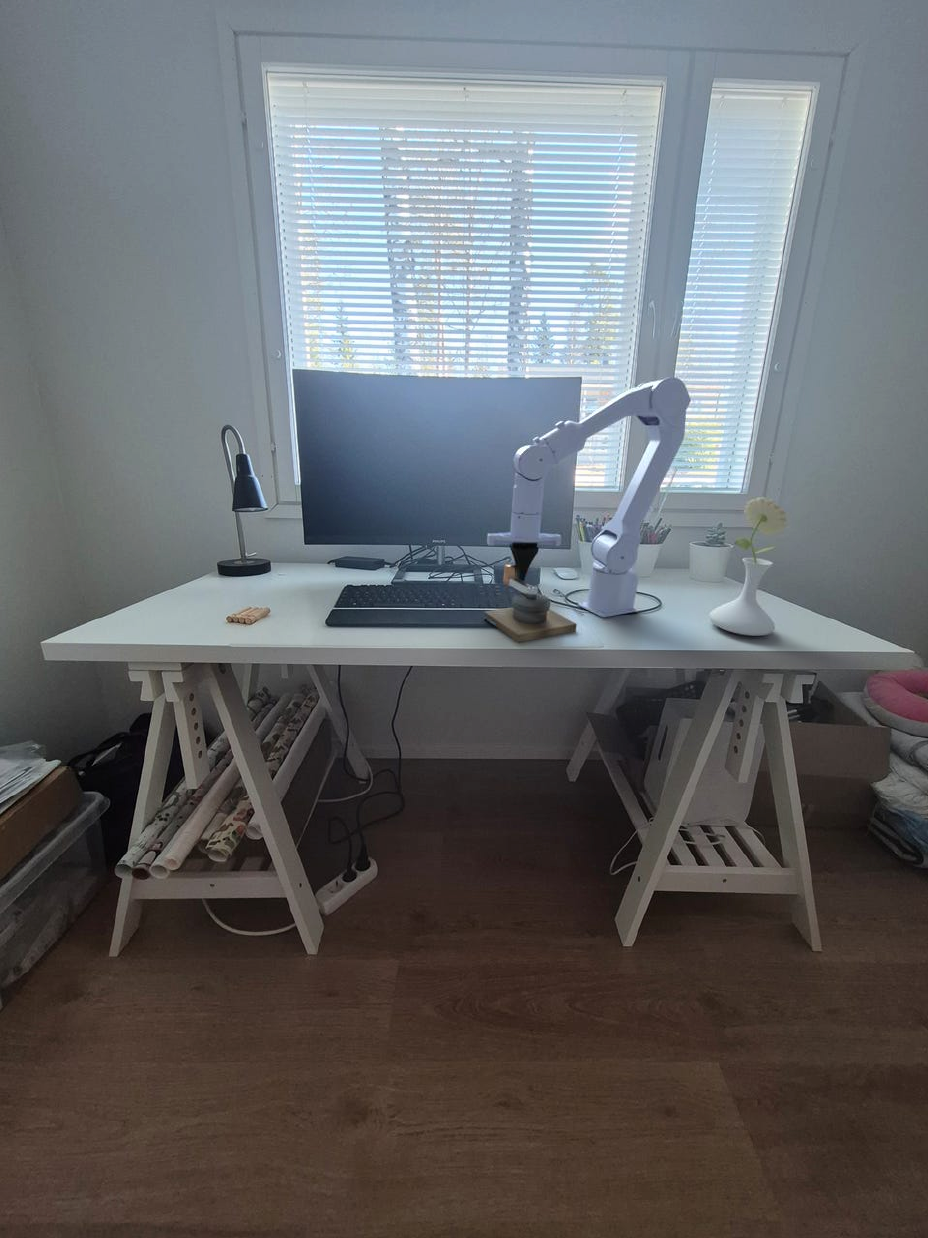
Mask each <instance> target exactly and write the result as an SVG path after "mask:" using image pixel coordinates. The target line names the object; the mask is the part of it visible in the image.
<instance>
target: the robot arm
mask: <svg viewBox="0 0 928 1238" xmlns="http://www.w3.org/2000/svg"><path fill="white" fill-rule="evenodd" d="M691 401H692V399H691V397H690V394H689V391H688V388H687V386H686V384H685V383H684V381H683V380H682V379H679V377H675V376H674V377H673V376H672V377H671V376H670V377H666V378H664V379H660V380H653V381H645V382H642V383H640V384H639V385H637V386H636V387H632V388H630V389H628V390H626V391H624V392H623V393H621V394H619V395H618V396H616V397H615V398H613V399H612V400H610V401H609V402H607V403H605V405H603V406H601V407H600V408H599V409H597V410H595V411H593V412H592V413H591V414H589V415H587V417H585V418H584V419H582V420H580V421H579V422H575V421H573V420H567V421H563V420H562V421H560V420H559V422H557V423H555V428H554V429H553V430H551V431H549V432H547V433H546V434H544V435H542V436H541V437H539V436H535V438H533V439H532V442H533V445H524V446H521V447H520V448H519V449H518V450H517V451H516V453H515V454H514V457H513V459H512V460H511V466H512V469H513V471H514V473H515V474H514V485H513V489H512V491H513V492H512V501H511V503H512V504H511V516H510V517H511V518H510V531H508V532H497V533H487V534H486V535H487V536H486V544H487V545H488V546H495V545H507V546H509V549H510V551H511V553H512V557H513V559H514V565H516V566H517V568H516V578H518V579H519V580H521V581H523V582H525V579H526V576H527V574H528V571H529V568H530V566H531V564H532V563H533V561H534V559H535V557H536V556H537V554H538V553H539V547H538V546H547V545H548V546H554V547H555V546H556V547H560V546H561V544H562V536H561V535H560V534H558V533H554V534H553V533H541V524H542V523H541V522H542V511H543V504H544V503H543V501H544V493H545V492H544V491H545V488H544V486H545V477H546V476H547V475H548V474H549V473H550V471H551V468H554V467H556V466H558V465H559V464H561V463H562V462H564V461H565V460H568V459H569V458H571V457H572V456H575V454H577V453H579V452H580V451H582V450H583V449H584V448H585V445H586V442H587V439H589V438H590V437H592V436H594V435H596V434H598V433H599V432H601V431H603V430H605V429H607V428H608V427H610V426H611V425H614V424H615V423H617V422H619V421H621V420H622V419H624V418H627V417H633V416H635V417H636V418H637V420H639V421H640V422H641V423H642V425H643V426H644V428H645V430H646V431H647V434H648V437H649V443H648V445H647V447H646V449H645V451H644V453H643V455H642V458H641V460H640V461H639V464H638V466H637V468H636V470H635V473H634V474H633V477H632V478H631V480H630V483H629V485H628V487H627V489H626V492H625V493H624V495H623V498H622V499H621V501H620V504H619V506H618V508H617V510H616V511H615V514H614V516H613V518H612V519H611V520H609V521H607V522H606V523H605V524H604V526H603V528H602V529H601V530H600V532H599V533H598V534H597V535H596V536H595V537H594V538H593V539H592V541H591V542H590V548H589V549H590V554H591V556H592V558H594V560H593V562H592V567H591V574H590V581H589V587H588V594H587V601H583V602H578V603H577V606H578V607H580V608H582V609H585V610H587V611H588V612H590V613H593V614H595V615H597V616H599V617H601V618H607V617H613V616H619V615H624V614H628V613H629V614H630V613H635V612H637V609H636V608H634V605H635V601H636V596H637V590H638V584H639V578H638V574H637V572H636V571H635V570H634V569H633V567H634V566H635V564H636V563H637V560H638V559H637V558H638V551H639V547H640V544H641V542H642V537H641V531H640V530H641V529H640V527H641V526H642V524H643V521H644V520H645V518H646V516H647V513H648V512H649V510H650V507H651V506H652V503H653V502H654V499H655V498H656V495H657V494H658V492H659V490H660V487H661V486H662V483H663V482H664V480H665V477H666V476H667V473H668V472H669V470H670V467H671V465H672V464H673V462H674V460H675V457H676V456H677V453H678V451H679V450H680V447H681V445H682V443H683V441H684V439H685V431H686V417H687V409H688V407H689V406H690V404H691Z"/></svg>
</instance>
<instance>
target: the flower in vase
mask: <svg viewBox="0 0 928 1238" xmlns="http://www.w3.org/2000/svg"><path fill="white" fill-rule="evenodd" d="M744 508H745V509H744V510H743V514H744V515H745V516H746V517H745V519H746V521H748V524H749V526H751V527H753V530H752V533H751V535H750V538H749V540H747V539H746V538H745V537H743V536H741V537H739V538H738V539H737V540H735V541H734V542H733V545H735V546H737V547H740V548H741V549H743V550H745V551H747V550H748V549H749V548H750V550H751V553H752V557H743V558H742V562H743V563H744V568H745V580H744V585H743V587H742V588H743V589H742V591H741V593H740V595H739V596H738V597H737V598H736V599H733V600H732V601H729V602H726V603H724V604H722V605H720V606H718V607H716V608H714V609H713V610H712V611H711V612H710V613H709V614H708V618H709V620H710V622H711V623H712V624H714V625H715V626H717V627H719V628H721V629H722V630H725V631H727V632H730V633H734V634H739V635H742V636H743V635H744V636H753V637H754V636H756V637H757V636H766V635H770V634H772V633H773V632H774V631H775V629H776V626H775V622H774V620H773V619H772V618H771V617H770V615H769V614H768V613H767V612H766V611H765V610H764V609H763V608H762V607H761V606H760V605H759V603H758V601H757V599H756V598H757V590H758V588H759V584H760V582H761V579H762V578H763V576H764V574H765V573H766V571H767V570H768V569H769V568H771V567H772V566H773V565H774V562H772V561H771V560H767V559H763V558H757V557H756V554H760V553H761V554H762V553H764V552H769V551H770V550H772V549H774V548H775V547H777V544H776V545H775V546H772V547H764V548H762V549H760V550H758V551H755V549H754V546H753V538H754V535H755V533H756V531H758V530H759V533H761V534H765V535H766V536H771V535H777V534H781V533H783V532H784V530H785V528H786V527H785V526H786V525H787V524H788V522H787V521H788V518H787V517H786V516H785V514H786V510H785V509H782V505H780V504H776V503H775V500H774V499H769V500H768V499H767V498H766V497H765V496H762V497H759V496H758V497H756V499H754V498H753V499H750V501H747V502H746V505H745V507H744Z"/></svg>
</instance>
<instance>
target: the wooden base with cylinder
mask: <svg viewBox="0 0 928 1238" xmlns="http://www.w3.org/2000/svg"><path fill="white" fill-rule="evenodd" d="M483 612H484V615H485V616H486V617H487V618H488V619H491V620H492V621H493V622H495V623H496V625H497V629H498V630H499V631H501V633H504V634H505V635H506V636H508V637H509V638H510V639H512V640H513V641H515V642H516V643H522V642H527V641H532V640H537V639H538V640H539V639H542V638H548V637H554V636H558V635H564V634H568V633H574V632H576V631H577V625H578V624H577V623H576V622H575V621H572V620H570V619H569V618H567V617H565V616H563V615H561V614H559V613H557V612H556V611H554V610H552V609H551V601H550V600H549V597H547V596H546V595H545V594H542V593H538V592H537V598H536V599H528V598H526V594H524V593H523V592H519V593H516V594H514V597H513V598H511V607H507V608H505V607H504V608H500V609H493V610H486V611H483ZM484 615H483V616H484Z"/></svg>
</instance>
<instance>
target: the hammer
mask: <svg viewBox="0 0 928 1238" xmlns="http://www.w3.org/2000/svg"><path fill="white" fill-rule="evenodd" d="M503 567H504V569H503V570H504V571H503V581H502V582H503V584H504V585H508V586H510V587H512V588H514V589H516V590H517V591H519V592H520V593H524V594H526V598H528V599H536V598H537V593H538V589H539V587H538V586H537V585H531V584H530V583H527V582H525V581H521V580H519V579H518V578H517V570H516V568H517V566H516V564H513V563H508V564H507V563H505V564H504V566H503Z"/></svg>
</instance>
